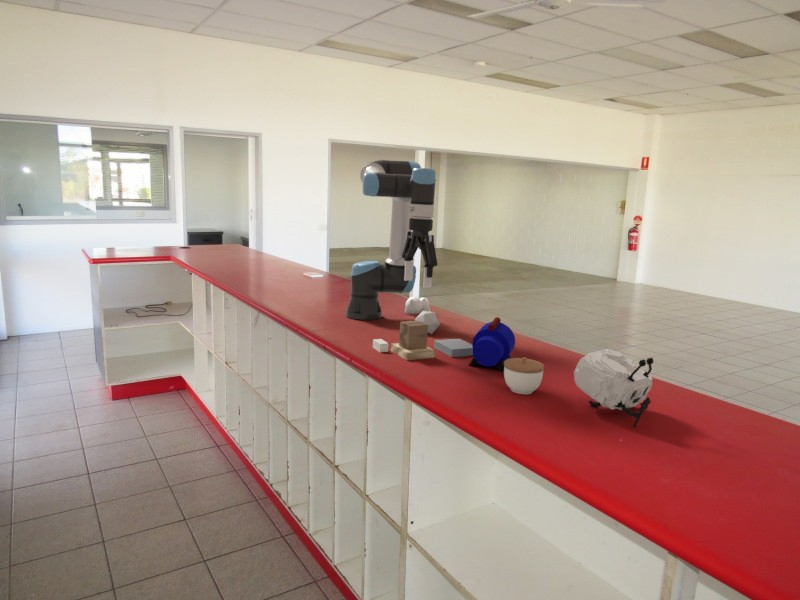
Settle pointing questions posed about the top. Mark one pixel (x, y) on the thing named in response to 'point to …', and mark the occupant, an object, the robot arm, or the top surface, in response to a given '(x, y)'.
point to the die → (429, 320)
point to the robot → (614, 381)
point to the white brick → (380, 345)
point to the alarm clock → (493, 344)
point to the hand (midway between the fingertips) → (417, 283)
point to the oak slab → (412, 352)
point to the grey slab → (454, 347)
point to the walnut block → (413, 335)
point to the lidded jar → (523, 374)
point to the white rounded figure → (416, 305)
